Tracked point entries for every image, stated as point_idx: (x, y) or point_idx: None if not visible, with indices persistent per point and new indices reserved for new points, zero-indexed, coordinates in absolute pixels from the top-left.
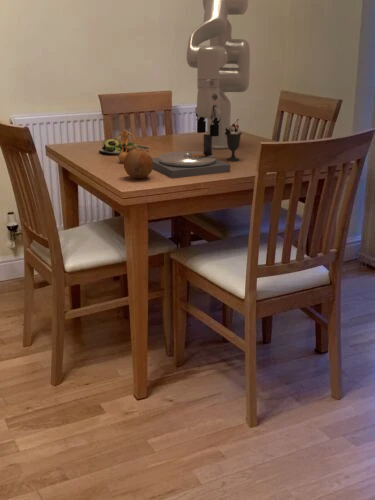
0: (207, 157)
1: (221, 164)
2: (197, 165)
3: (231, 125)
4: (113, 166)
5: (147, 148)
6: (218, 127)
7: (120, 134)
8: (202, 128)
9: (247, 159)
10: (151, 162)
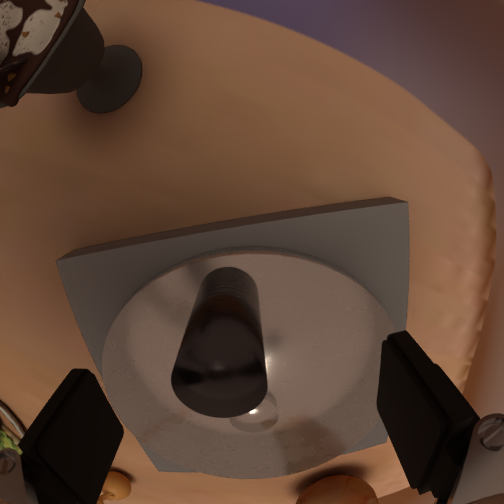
0: (323, 322)
1: (390, 248)
2: None
3: None
4: (164, 496)
5: None
6: (451, 390)
7: None
8: (92, 426)
9: (129, 9)
10: (372, 499)
